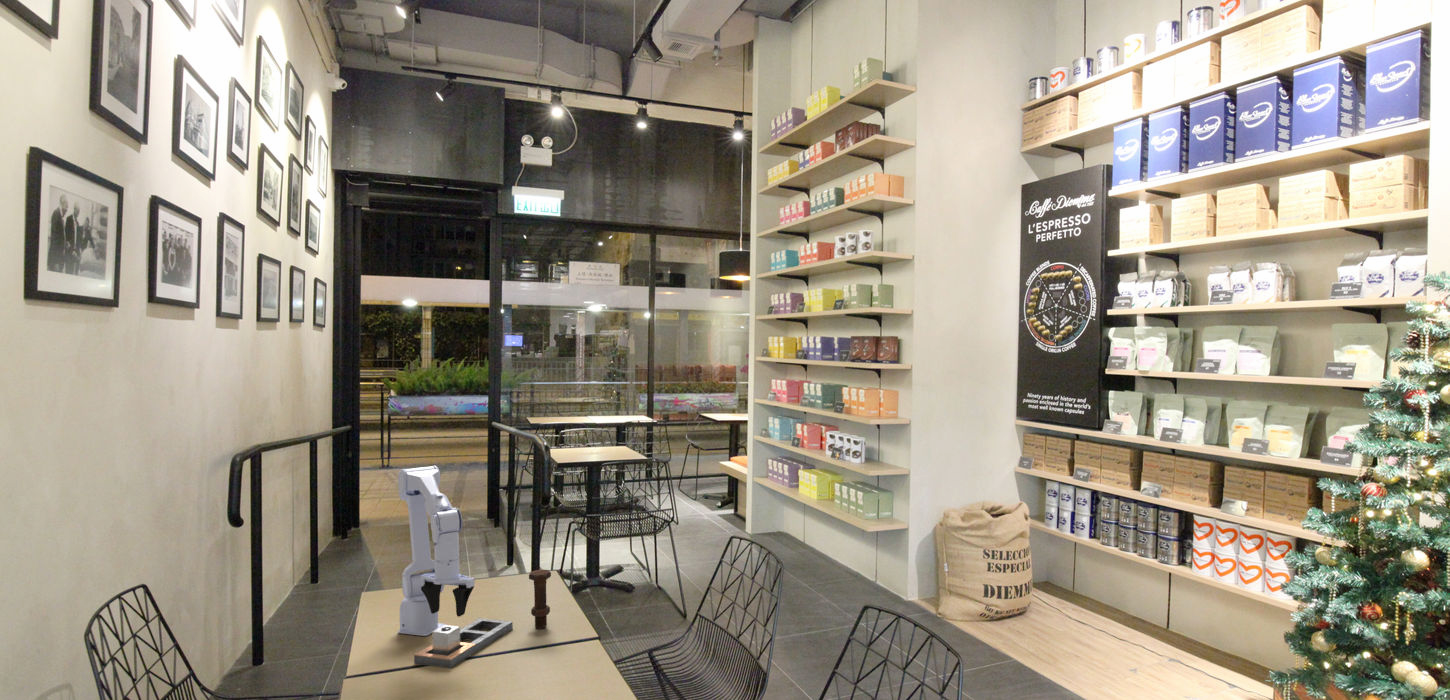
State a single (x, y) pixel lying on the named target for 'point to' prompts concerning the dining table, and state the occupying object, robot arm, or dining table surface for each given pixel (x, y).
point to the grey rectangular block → (446, 640)
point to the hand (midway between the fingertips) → (447, 613)
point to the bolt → (540, 597)
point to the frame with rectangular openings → (466, 649)
